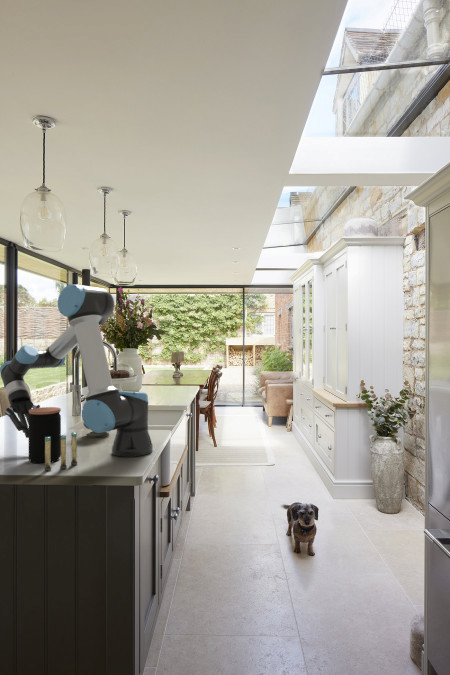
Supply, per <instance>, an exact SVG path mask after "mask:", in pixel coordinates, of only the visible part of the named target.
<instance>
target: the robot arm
mask: <svg viewBox="0 0 450 675" xmlns="http://www.w3.org/2000/svg"><path fill="white" fill-rule="evenodd" d="M57 308H58V311H59V313H60V314H61V315H62V316H64V317H67V321H68V324H69V326H68V327H67V328H66V329H65V330H64V331H63V332H62V333H61V334H60V335H59V336H58V337H57V338H56V339H55V340H54V342H53V343H51V344H50V345H49V346H48V347H47V348H45V349H41V350H39V349H37V348H36V347H35V346H33V345H29V344H25V345H22V346H21V347H20V348H19V349H18V350H17V351H16V353H15V355H14V356H13V358H12V359H11V360H8V361H5V362H4V363H2V364H1V365H0V378H1V380H2V384H3V386H4V389H5V393H6V396H7V400H8V402H9V405H10V406H9V407H7V408H6V409H5V412H4V414H5V415H6V416H7V417H9V419H10V420H11V422H12V423H13V425H14V427H15V428H16V430H17V431H18V432H21V431H22V433H24V435H25V438H26V439H29V416H30V414H29V410H30V409H34V408H41V404H36V405H35V404H34V402H33V401H32V400H31V397H30V394H29V390H28V387H27V385H26V382H25V379H24V377H25V376H26V375H27V373H28V372H29V370H31V369H33V370H35V369H47V368H53V369H55V368H58V367H63V365H64V364H65V361H66V356H67V355H68V354H69V353H70V352H71V351H72V350H73V349H75V348H76V347H77V346H78V349H79V354H80V358H81V363H82V367H83V372H84V376H85V381H86V385H87V390H88V392H87V394H86V396H85V401H86V403H85V404H84V403H83V405H82V409H81V417H82V418H81V419H82V421H83V422H84V423H85V425H86V426H87V427H88V428H89V429H88V430H90V431H91V432H96V433H102V432H108V433H109V432H110V431H114V430H116V434H115V437H114V440H113V444H112V446H111V453H112V455H114V456H117V457H125V458H127V457H129V458H131V457H133V458H134V457H140V456H145V455H148V454H151V453H153V450H154V448H153V446H154V445H153V443H152V440H151V436H150V433H149V426H148V425H149V398H148V394H147V393H146V392H143V391H128V390H127V391H125V390H119V388H117V387H116V386H115V385H114V384H113V380H112V376H111V371H110V367H109V363H108V362H109V361H108V358H107V354H106V348H105V345H104V342H103V337H102V332H101V329H100V328H101V327H100V326H102V325H103V324H104V323H106V321H108V320H109V318H111V316H112V315H113V312H114V311H115V300H114V297H113V295H112V294H111V292H109V290H108V289H107V290H106V289H105V288H102V287H99V286H98V287H96V286H91V285H82V284H79V283H78V284H73V283H72V284H69V285H68V284H67V285H66V286H65V287H64V288H63V289H61V291H60V294H59V296H58V299H57Z"/></svg>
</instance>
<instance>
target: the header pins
mask: <svg viewBox="0 0 450 675" xmlns="http://www.w3.org/2000/svg"><path fill="white" fill-rule="evenodd" d="M77 433H78V432H77V431H73V432H71V436H70V437H71V462H70V466H72V467H76V466H77V465H78V460H77V457H78V456H77V451H78V450H77V448H78V447H77V436H78V435H77ZM50 440H51V437H50V436H47V437H45V463H44V472H50V471H52V466H51V462H50ZM59 470H61V471H63V470H67V435H66V434H61V456H60V466H59Z"/></svg>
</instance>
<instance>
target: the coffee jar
mask: <svg viewBox="0 0 450 675" xmlns="http://www.w3.org/2000/svg"><path fill="white" fill-rule="evenodd" d="M61 412H62V408H60V407H55V406H46V407H45V406H43V407H40V408H34V409H33V408H32V409H30V410H29V414H30V416H29V425H28V428H29V438H28V461H30V463H31V464H39V465H40V464H45V437H47V436H50V437H51V440H50V463H54V462H57V461H58V460H60V459H61V435H62V434H61V433H62V428H61V427H62V426H61V425H62V423H61V422H62V417H61V414H60V413H61Z"/></svg>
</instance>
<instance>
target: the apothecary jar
mask: <svg viewBox="0 0 450 675" xmlns="http://www.w3.org/2000/svg"><path fill="white" fill-rule="evenodd" d="M85 403H86V400H85V401H84V402H83V405H84V404H85ZM83 426H84V427H85V428H86V429H87V430H90V429H89V428H88V427H87V426H86V425H85V423H84V421H83ZM85 436H86V438H91V439H92V438H93V439H97V438H104V437H107V436H110V433H109V432H102V433H96V432H93V431H90V432H89V433H87V434H85Z"/></svg>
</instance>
